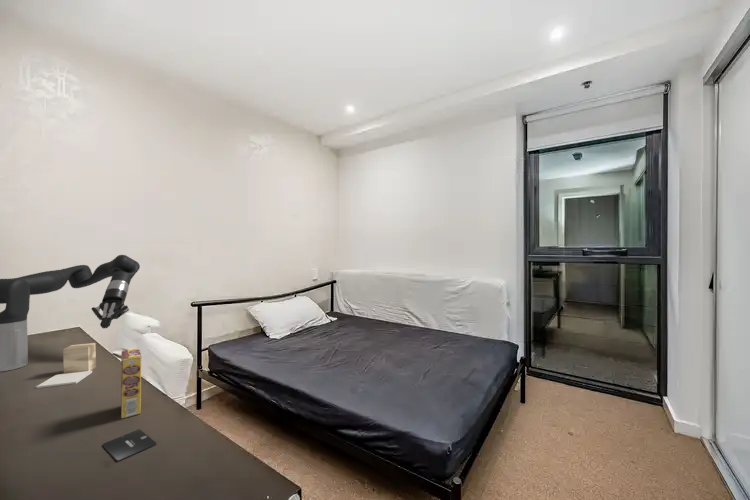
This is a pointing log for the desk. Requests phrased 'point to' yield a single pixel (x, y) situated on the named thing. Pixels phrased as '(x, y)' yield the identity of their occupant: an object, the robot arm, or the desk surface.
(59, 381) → the mat
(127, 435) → the solid state drive
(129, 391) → the candy box
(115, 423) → the desk surface
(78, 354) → the maple block
